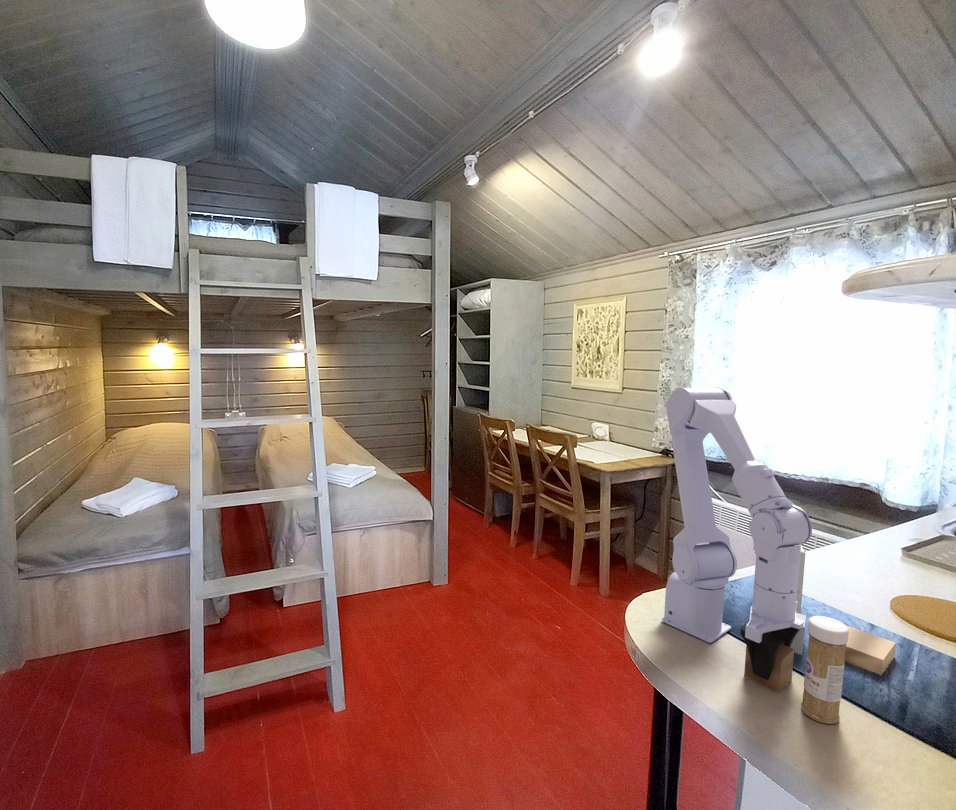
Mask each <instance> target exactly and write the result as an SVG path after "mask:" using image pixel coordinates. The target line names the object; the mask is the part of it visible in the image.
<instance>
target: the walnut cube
mask: <svg viewBox="0 0 956 810" xmlns="http://www.w3.org/2000/svg"><path fill="white" fill-rule="evenodd" d="M794 658H795V653H794V649H793V648H791V647H788V646H786V645H782V646H781V647H780V649H779V651H778V653H777V655H776V657H775V660H774V665H773V669H772V673H771V675H770V677H769V679H768V680H765V679H763V678H761V677H759V676H757V675H755V674H753V670H752V665H751V660H750V655H749V651H748V648H747V645H746V646H745V659H744V662H745V663H744V672H743V673H744V675H743V676H744V677H745V678H747V679H748V680H749V679H750V680H751V681H754V682H755V683H757V684H760V685H762V686H763V687H766V688H768V689H770V690H772V691H774V692H776V693H780V692H781V691H782V690H783V689H784V688H785V687H786V686H787V685H789V683H790V682H791V681H792V680H793V669H794Z"/></svg>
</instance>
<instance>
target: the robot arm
mask: <svg viewBox="0 0 956 810" xmlns="http://www.w3.org/2000/svg"><path fill="white" fill-rule="evenodd" d="M732 398H733V397H732V395H731V394H730V392H729V391H728V390H727V389H726V388H724V387H721V386H720V387H713V388H712V387H705V388H703V387H698V388H697V387H695V388H694V387H692V388H691V387H690V388H688V387H687V388H686V387H677V388H675V389H674V390H673V391H672V392H671V394H670V395H669V398H668V399H667V401H666V403H665V407H666V416H667V421H668V429H669V433H670V436H671V443H672V444H671V445H672V452H673V458H674V465H675V470H676V479H677V485H678V493H679V499H680V506H681V513H682V514H681V515H682V520H683V526H684V528H683V529H682V530H681V531H680V532H679V533H678V534H677V535H675V536H674V538H673V539H672V543H673V553H672V558H671V559H672V560H671V561H672V566H673V567H672V568H673V570H674V572H672V573H671V575H670V576H669V577H668V579H667V582H666V587H665V597H664V598H665V599H664V614H663V617H662V618H661V621H662V623H664V622H665V624H666V625H669V626H671V627H674V628H676V629H678V630H680V631H683V632H684V633H687V634H689V635H691V636H693V637H696V638H698V639H700V640H702V641H704V642H706V643H710V644H711V643H713V642H715V641H716V640H719V638H720V637H722V636H724V634H726V633H727V632H729V631H730V630H732V626H731V625H729V624H726V623H724V622H723V616H724V614H723V613H724V601H725V585H727V584H729V579H730V578H731V577H733V576H734V575H735V574H736V572H737V569H738V561H737V560H738V559H737V556H736V553H735V552H734V551H733V550H734V549H733V548H732V545H731V541H730V536H729V535H727V533H725V532H724V531H722V530H721V529H720V528H719V527H718V526H717V525H716V518H715V511H714V505H713V499H712V492H711V485H710V479H709V474H708V473H709V472H708V468H707V461H706V455H705V447H704V440H705V438H706V437H707V436H708V435H709V434H711V435H712V437H713V438H714V440H715V442H716V443H717V444H718V445H719V447H720V449H721V451H722V452H723V454H724V455H725V457H726V458H727V459H728V461H729V463H730V464H731V466H732V468H733V469H734V472H733V474H732V478H731V481H732V483H733V484H734V486H735V488H736V490H737V492H738V494H739V496H740V498H741V500H742V501H743V504H744V505H745V507H746V509H747V511H748V513H749V515H750V516H751V518H752V519H751V521H749V522H748V531H749V533H750V536H751V538H752V540H753V549H752V550H753V551H754V554H755V565H754V567H755V568H754V578H753V579H754V580H753V589H752V591H753V592H752V593H753V594H752V603H751V606H750V611H749V617H748V618H749V619H748V622H747V623H745V624H743V625H742V626H741V627H740V635H741V637H742V638H743V640H744V643H745V645H746V646H747V648H748V651H749V655H750V660H751V665H752V670H753V674H755V675H757V676H759V677H761V678H763V679H765V680H768V679H769V677H770V675H771V673H772V669H773V665H774V660H775V657H776V655H777V653H778V651H779V649H780V647H781V646H782V645H786V646H788V647H790V646H791V644H792V642H793V640H794V638H795V636H796V634H797V633H798V632H799V630H800V629H801V628H802V627H803V625H804V622H803V621H802V620H800V619H798V618H796V613H797V605H798V601H796V599H797V587H798V575H799V564H800V552H801V546H802V545H804V544H806V543H808V542H809V541H810V539H811V537H812V534H813V525H812V522H811V520H810V518H809V515H808V513H807V512H806V511H805V510H804V509H803V508H802V507H800V506H797V505H795V504H794V503H793V501H792V500H790V499H788V498H787V497H786V495H785V493H784V491H783V489H782V487H781V486H780V485H779V483H778V481H777V479H776V478H775V473H774V472H773V470H772V469H771V468H770V467H769V466H768V465H767V464H765V463H761V462H758V461H757V460H756V459H755V457H754V454H753V452H752V450H751V448H750V446H749V444H748V441H747V440H746V438H745V435H744V433H743V431H742V429H741V427H740V425H739V423H738V420H737V419H736V417H735V415H736V410H737V404H736V403H735V401H734V400H733V399H732ZM795 545H798V546H795Z"/></svg>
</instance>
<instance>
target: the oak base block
mask: <svg viewBox="0 0 956 810" xmlns="http://www.w3.org/2000/svg"><path fill="white" fill-rule="evenodd" d="M845 625H846V624H845ZM846 626H847V628H848V630H849V633H848V642H847V643H846V647H845V658H844V662H845V663H848V664H850V665H853V666H856V667H858V668H860V667H861V669H863V670H865V669H866V671H868V670H869V671H868V672H871V671H873V672H876V673H880V674H882V673H883V672H884V671H886V670H887V669H888V668H889V666H890V665H889V664H891V663H892V662H891V661H893V660H894V659H895V653H896V646H897V642H895V641H893V640H889V639H886V638H884V637H881V636H878V635H875V634H872V633H869V632H867V631H864V630H861V629H858V628H855V627H852V626H850V625H846ZM888 665H889V666H888ZM886 668H887V669H886ZM885 669H886V670H885ZM873 672H872V673H873ZM876 673H875V674H876ZM884 673H885V672H884ZM884 673H883V674H884Z"/></svg>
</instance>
